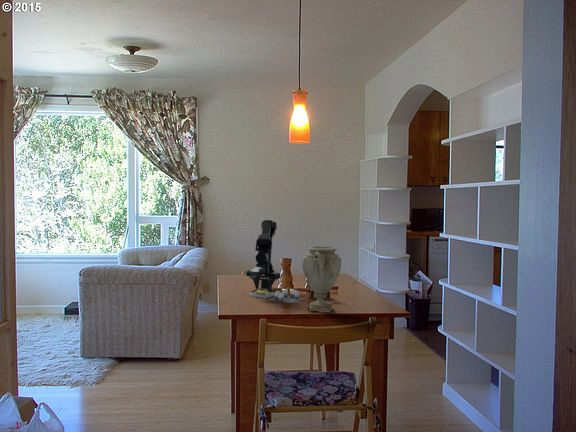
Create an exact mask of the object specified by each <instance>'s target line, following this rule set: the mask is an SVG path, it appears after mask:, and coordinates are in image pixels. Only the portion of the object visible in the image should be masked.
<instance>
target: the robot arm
mask: <svg viewBox="0 0 576 432" xmlns="http://www.w3.org/2000/svg"><path fill="white" fill-rule="evenodd" d="M260 227H261V234H259V235H258V237H257V239H256V241H255V250H254V251H256V252H258V253H257V254H256V256H255V261H256V264H255V267H254V268H252V269H248V270H246V271H245V276H246V277H249V279H251V280H252V282H253V283H254V284H253V285H254V286H255V290H256V291H257V289H260V288H263V289H267V290H268V292H271V291H273V290H274V289H273V284H274V283H275V281H277V280H280V279H282V277H281V275H282V274H281V273H280V272H275V269H274V265H273V264H272V250H273V238H274V236H275V235H276V231H277V229H278V224H277V221H273V220H270V219H264V220H263V221H261V226H260Z"/></svg>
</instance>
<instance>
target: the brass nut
mask: <svg viewBox="0 0 576 432" xmlns="http://www.w3.org/2000/svg"><path fill="white" fill-rule="evenodd" d="M256 292H257V294H258V295H269V294H268V290H267V289H263V288H261V287H259V288H258V289H257V290H256Z"/></svg>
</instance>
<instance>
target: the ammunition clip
mask: <svg viewBox="0 0 576 432" xmlns="http://www.w3.org/2000/svg"><path fill="white" fill-rule="evenodd" d="M315 294H316V293H315V292H314V291H313V290H312V289H311V288H309V299H310V300H311V299H312V300H317V296H316V295H315ZM324 299H331V290H330V291H329V292H327V293H326V295H325V297H324Z"/></svg>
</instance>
